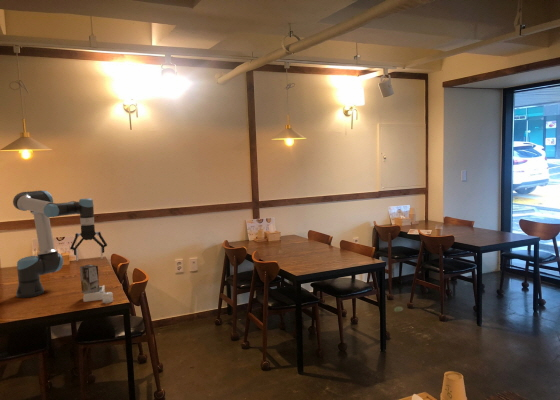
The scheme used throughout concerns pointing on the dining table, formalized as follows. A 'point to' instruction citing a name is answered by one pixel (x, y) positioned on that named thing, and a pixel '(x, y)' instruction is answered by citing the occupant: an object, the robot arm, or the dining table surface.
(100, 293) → the white open box
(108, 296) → the white rounded block
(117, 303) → the dining table surface
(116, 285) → the dining table surface
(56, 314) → the dining table surface
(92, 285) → the coffee box
